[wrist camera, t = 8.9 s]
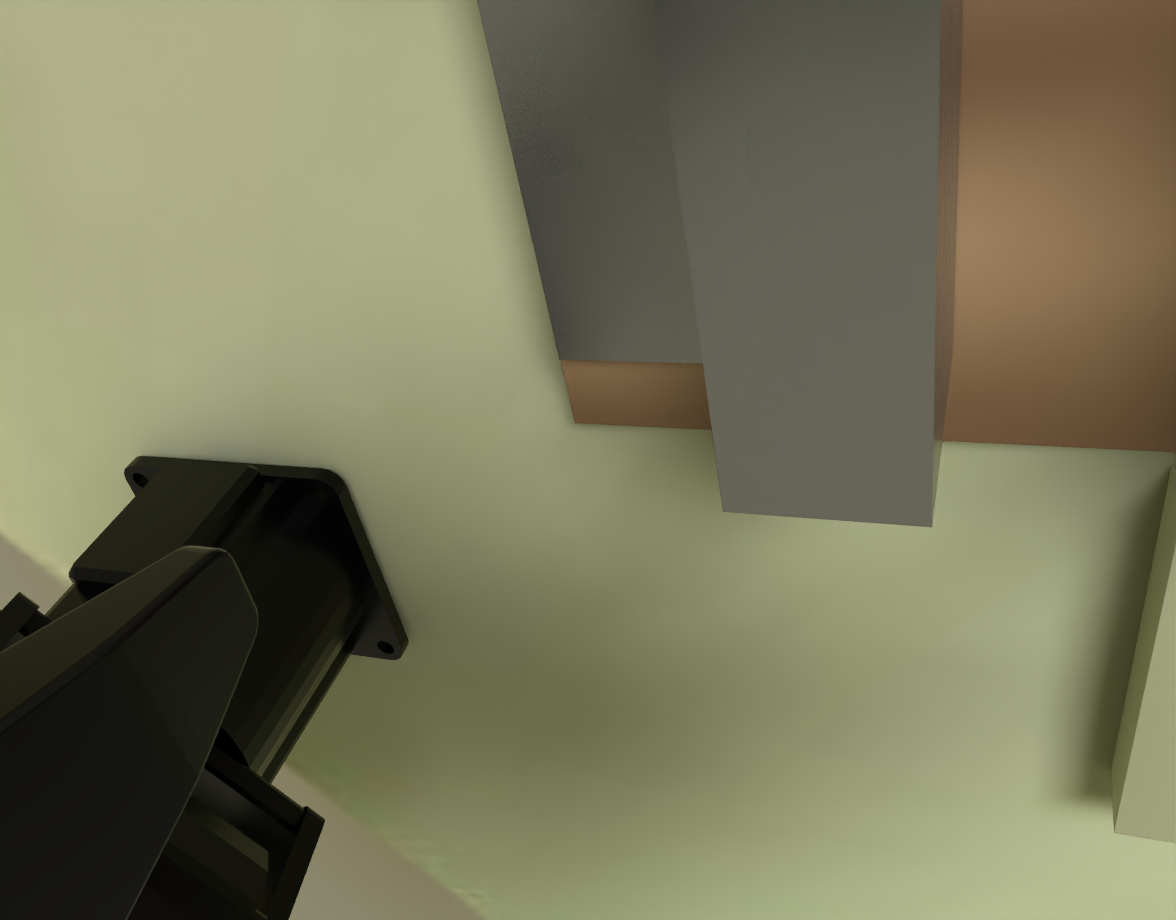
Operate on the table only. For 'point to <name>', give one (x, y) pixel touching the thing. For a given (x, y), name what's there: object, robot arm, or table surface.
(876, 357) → the bookend
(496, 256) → the table surface
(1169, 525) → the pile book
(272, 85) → the table surface
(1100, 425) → the shelf
